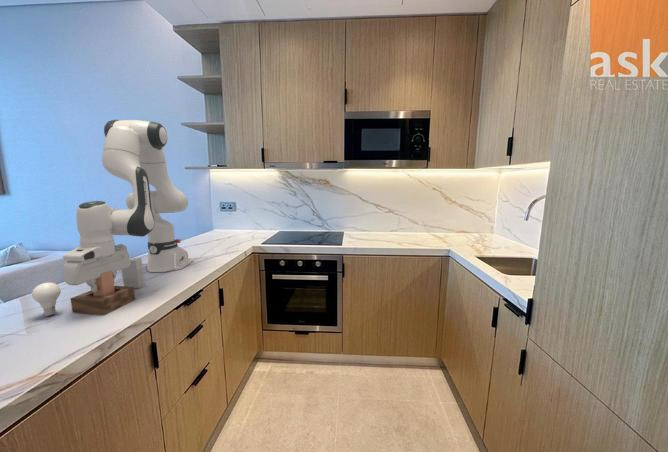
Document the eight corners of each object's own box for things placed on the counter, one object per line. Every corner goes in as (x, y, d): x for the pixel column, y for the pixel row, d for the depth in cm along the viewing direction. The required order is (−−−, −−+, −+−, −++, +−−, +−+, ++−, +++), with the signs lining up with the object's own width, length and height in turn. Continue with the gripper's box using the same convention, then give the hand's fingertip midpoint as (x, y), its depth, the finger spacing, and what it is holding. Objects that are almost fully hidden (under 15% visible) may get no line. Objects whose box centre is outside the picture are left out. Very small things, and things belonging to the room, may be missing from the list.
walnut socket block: (107, 297, 102) (105, 284, 101) (135, 299, 100) (134, 286, 100) (72, 312, 90) (70, 298, 89) (104, 315, 89) (102, 300, 88)
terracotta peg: (105, 296, 97) (102, 269, 96) (115, 297, 97) (112, 270, 95) (94, 301, 93) (90, 273, 92) (104, 302, 93) (100, 274, 91)
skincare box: (145, 284, 115) (142, 257, 113) (139, 288, 111) (135, 260, 109) (130, 285, 114) (126, 257, 113) (122, 289, 110) (119, 260, 108)
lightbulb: (69, 310, 91) (64, 279, 90) (50, 320, 85) (45, 286, 83) (50, 310, 91) (44, 279, 89) (29, 320, 85) (23, 286, 83)
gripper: (118, 242, 103) (122, 277, 105) (56, 256, 83) (63, 299, 85) (133, 243, 102) (136, 278, 104) (74, 257, 82) (81, 300, 84)
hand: (103, 288), depth 94 cm, fingers closed on terracotta peg, 4 cm apart
